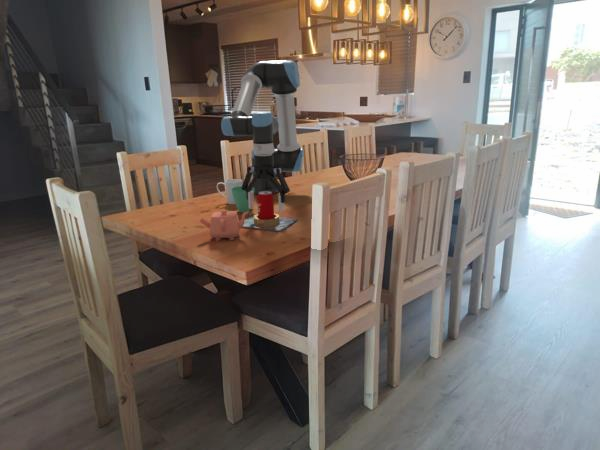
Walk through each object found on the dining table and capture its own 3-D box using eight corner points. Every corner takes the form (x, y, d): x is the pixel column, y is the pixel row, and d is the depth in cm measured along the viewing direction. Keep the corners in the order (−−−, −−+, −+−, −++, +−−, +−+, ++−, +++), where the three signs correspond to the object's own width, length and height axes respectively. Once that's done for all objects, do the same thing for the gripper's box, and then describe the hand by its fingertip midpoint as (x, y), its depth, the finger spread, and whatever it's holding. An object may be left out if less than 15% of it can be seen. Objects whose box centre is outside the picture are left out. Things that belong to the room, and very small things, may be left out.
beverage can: (267, 218, 178) (266, 189, 174) (277, 221, 173) (276, 192, 170) (255, 222, 174) (253, 192, 170) (265, 225, 169) (264, 194, 166)
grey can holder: (254, 215, 184) (254, 209, 184) (298, 220, 177) (297, 213, 176) (234, 226, 171) (233, 219, 170) (280, 232, 163) (280, 224, 162)
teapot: (217, 246, 150) (215, 217, 147) (199, 238, 158) (197, 210, 155) (251, 236, 159) (249, 209, 156) (232, 229, 167) (231, 203, 164)
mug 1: (244, 200, 211) (243, 178, 208) (242, 204, 203) (241, 182, 200) (219, 200, 211) (217, 179, 208) (216, 205, 203) (214, 182, 200)
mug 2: (252, 214, 187) (250, 191, 184) (230, 213, 189) (228, 190, 186) (260, 205, 201) (259, 184, 198) (240, 204, 203) (238, 183, 200)
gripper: (230, 154, 167) (234, 208, 173) (289, 157, 157) (290, 214, 164) (240, 151, 174) (243, 204, 180) (297, 154, 164) (298, 209, 170)
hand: (266, 209), depth 172 cm, fingers open, 13 cm apart
